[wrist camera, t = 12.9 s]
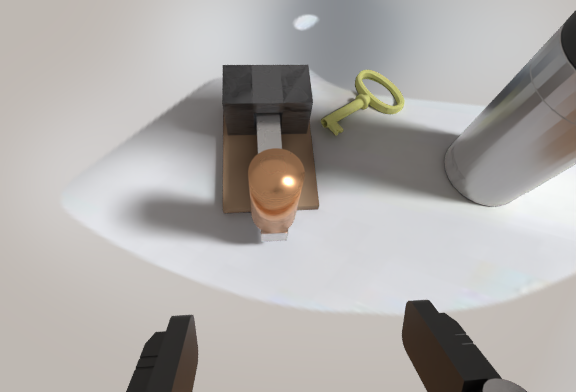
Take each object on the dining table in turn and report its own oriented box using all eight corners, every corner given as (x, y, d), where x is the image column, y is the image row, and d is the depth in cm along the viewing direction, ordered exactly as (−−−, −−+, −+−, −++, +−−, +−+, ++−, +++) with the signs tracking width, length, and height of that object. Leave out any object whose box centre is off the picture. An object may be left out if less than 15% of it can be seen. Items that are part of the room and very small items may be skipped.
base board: (305, 104, 42) (306, 99, 41) (317, 209, 37) (319, 205, 36) (224, 105, 41) (223, 100, 40) (223, 213, 36) (222, 209, 35)
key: (315, 131, 41) (318, 121, 39) (363, 70, 46) (367, 57, 44) (367, 162, 40) (372, 152, 38) (410, 96, 45) (417, 84, 43)
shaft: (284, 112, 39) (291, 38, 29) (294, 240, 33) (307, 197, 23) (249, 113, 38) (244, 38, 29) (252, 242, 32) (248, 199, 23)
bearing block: (302, 99, 41) (308, 64, 36) (306, 133, 39) (312, 102, 34) (227, 100, 40) (222, 65, 35) (227, 135, 38) (222, 103, 33)
